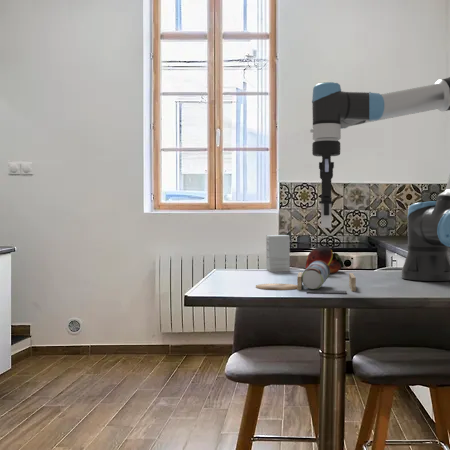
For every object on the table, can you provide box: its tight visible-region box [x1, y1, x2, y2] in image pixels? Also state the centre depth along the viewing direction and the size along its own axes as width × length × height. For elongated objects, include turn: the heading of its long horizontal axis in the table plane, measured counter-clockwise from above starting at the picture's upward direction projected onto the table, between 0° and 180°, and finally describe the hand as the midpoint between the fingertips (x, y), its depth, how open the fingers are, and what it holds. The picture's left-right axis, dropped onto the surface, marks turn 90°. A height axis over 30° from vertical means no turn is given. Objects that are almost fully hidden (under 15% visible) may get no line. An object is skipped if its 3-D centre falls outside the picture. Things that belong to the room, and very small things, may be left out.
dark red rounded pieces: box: [304, 246, 345, 274], centre depth 196 cm, size 12×12×15 cm
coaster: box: [255, 283, 297, 291], centre depth 160 cm, size 12×12×1 cm
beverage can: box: [302, 260, 331, 290], centre depth 159 cm, size 6×7×12 cm
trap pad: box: [306, 289, 348, 295], centre depth 149 cm, size 10×4×1 cm, turn 81°
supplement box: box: [265, 234, 291, 273], centre depth 206 cm, size 7×7×13 cm
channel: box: [296, 271, 357, 292], centre depth 159 cm, size 15×12×4 cm
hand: (326, 227), depth 160 cm, fingers closed
